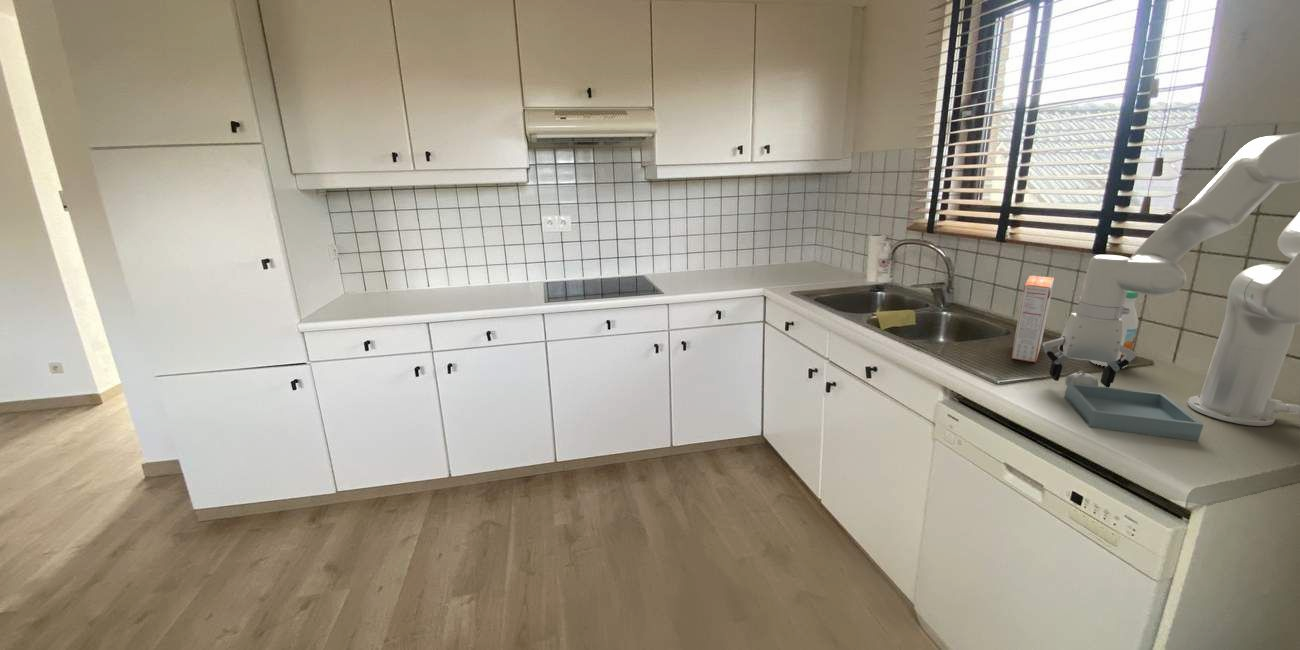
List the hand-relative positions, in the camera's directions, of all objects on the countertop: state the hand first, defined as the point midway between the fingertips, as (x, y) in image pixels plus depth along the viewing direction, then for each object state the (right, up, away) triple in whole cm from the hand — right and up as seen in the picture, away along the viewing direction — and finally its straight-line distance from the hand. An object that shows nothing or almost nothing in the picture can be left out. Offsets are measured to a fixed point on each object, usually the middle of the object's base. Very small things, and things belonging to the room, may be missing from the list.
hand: (1079, 381), depth 123 cm
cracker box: (+5, +5, +24) cm, 25 cm away
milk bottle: (+21, +3, +16) cm, 27 cm away
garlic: (+1, -3, 0) cm, 3 cm away
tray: (0, -6, -12) cm, 14 cm away
